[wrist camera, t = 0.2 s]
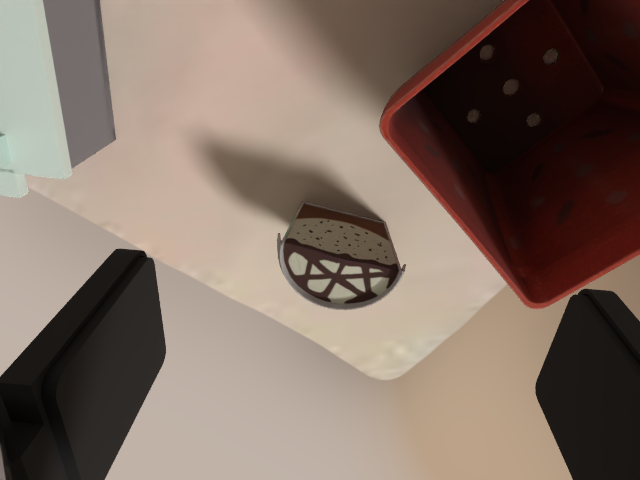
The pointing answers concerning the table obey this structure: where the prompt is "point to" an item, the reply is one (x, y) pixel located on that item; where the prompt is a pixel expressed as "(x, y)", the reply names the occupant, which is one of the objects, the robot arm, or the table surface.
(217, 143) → the table surface
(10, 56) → the lid
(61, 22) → the parts tub
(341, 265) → the food container
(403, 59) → the table surface
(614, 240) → the plant pot
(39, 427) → the robot arm
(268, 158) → the table surface
